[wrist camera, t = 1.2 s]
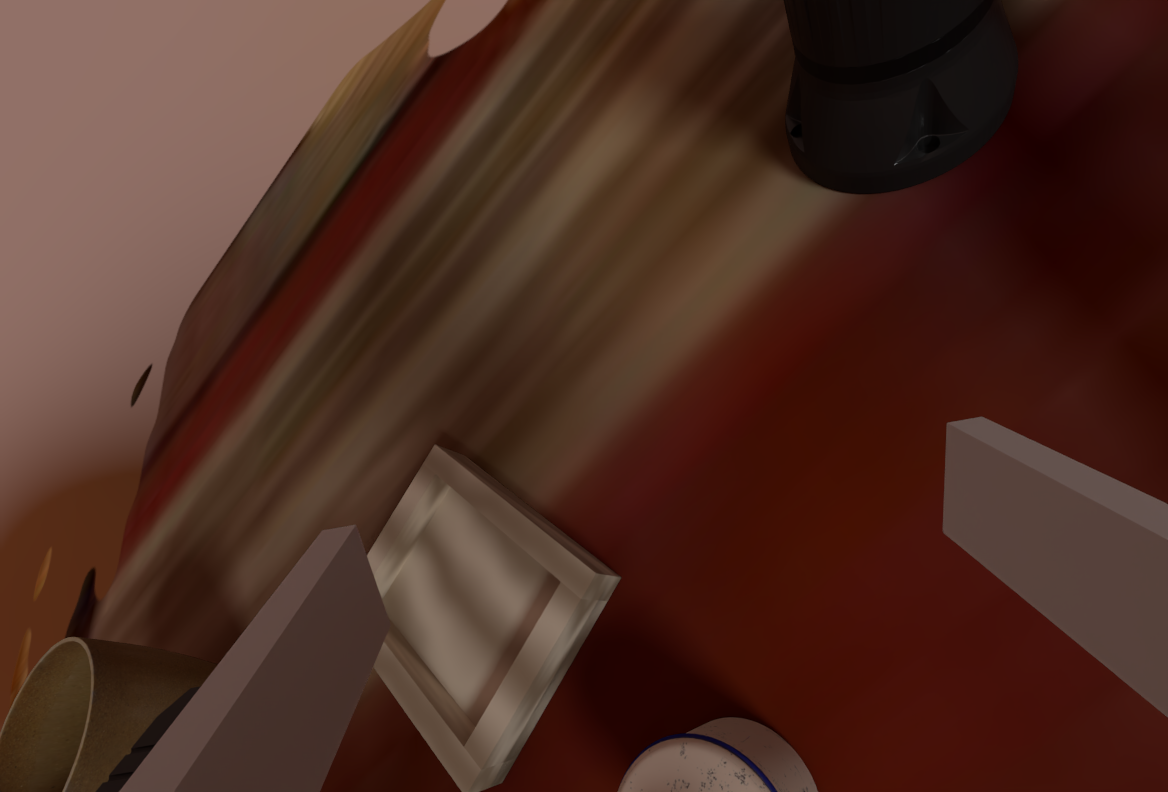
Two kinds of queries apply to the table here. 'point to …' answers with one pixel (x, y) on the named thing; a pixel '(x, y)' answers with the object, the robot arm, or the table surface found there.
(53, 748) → the plant pot
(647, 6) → the table surface
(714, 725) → the teacup with lid
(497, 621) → the square tray
